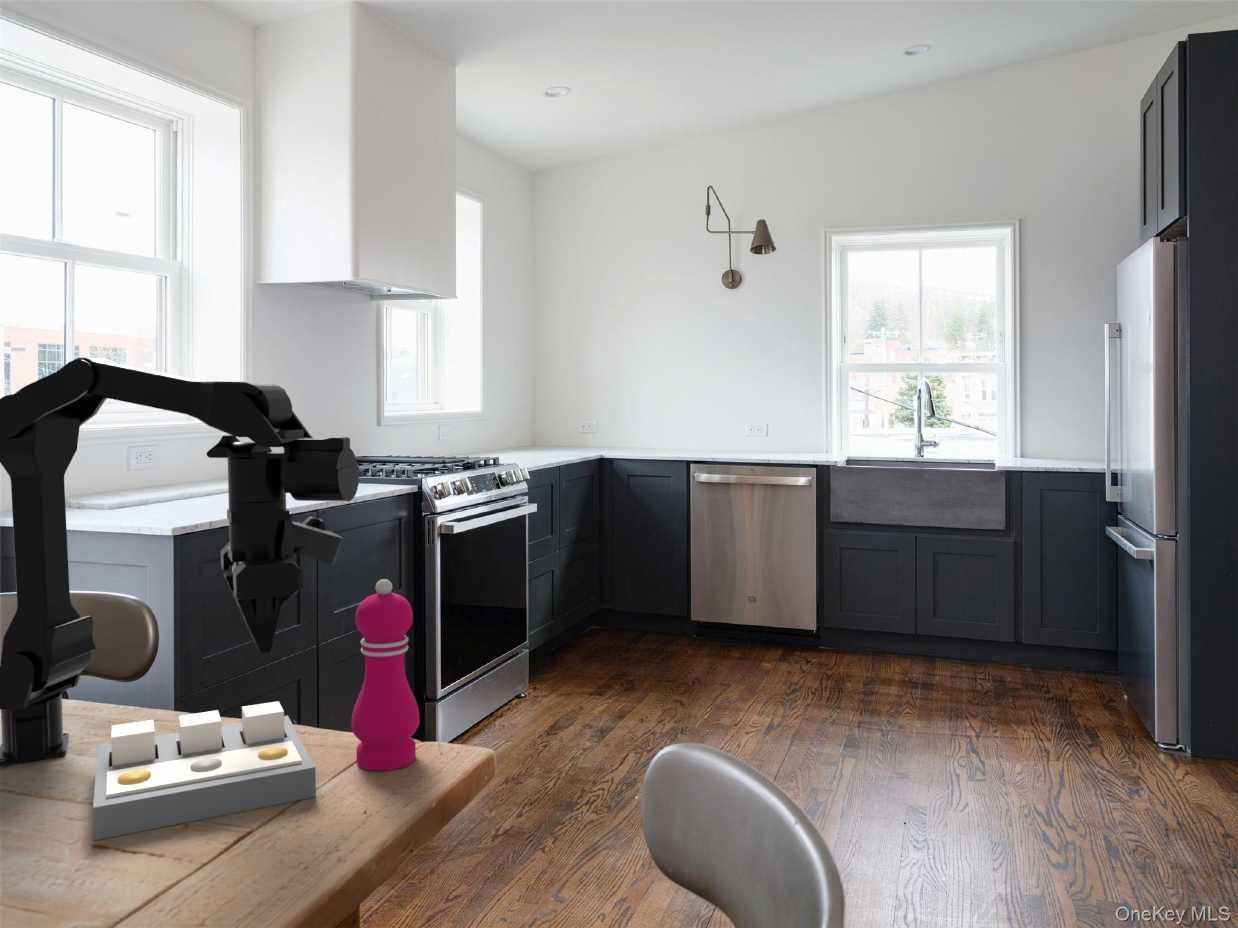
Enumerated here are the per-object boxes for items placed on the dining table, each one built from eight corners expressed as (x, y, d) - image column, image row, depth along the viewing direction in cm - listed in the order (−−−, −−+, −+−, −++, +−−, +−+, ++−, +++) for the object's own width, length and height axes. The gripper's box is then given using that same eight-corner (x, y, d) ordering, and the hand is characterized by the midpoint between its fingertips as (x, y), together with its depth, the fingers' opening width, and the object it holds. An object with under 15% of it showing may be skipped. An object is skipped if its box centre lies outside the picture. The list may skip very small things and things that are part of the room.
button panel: (98, 772, 95) (97, 739, 95) (288, 740, 104) (287, 711, 104) (94, 840, 80) (92, 802, 80) (315, 796, 89) (315, 762, 89)
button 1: (112, 755, 93) (111, 725, 93) (154, 749, 95) (153, 719, 94) (112, 768, 89) (111, 737, 89) (155, 761, 91) (154, 730, 91)
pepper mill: (402, 775, 94) (400, 587, 93) (339, 770, 96) (336, 584, 94) (430, 750, 101) (428, 574, 100) (371, 745, 103) (368, 571, 102)
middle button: (179, 745, 96) (178, 715, 96) (218, 738, 98) (217, 710, 97) (181, 757, 92) (180, 726, 92) (221, 750, 94) (221, 720, 94)
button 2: (242, 735, 99) (241, 706, 98) (279, 729, 101) (278, 701, 100) (246, 746, 95) (246, 717, 95) (284, 740, 97) (283, 711, 97)
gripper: (353, 505, 92) (355, 655, 93) (320, 490, 108) (322, 618, 109) (235, 510, 86) (238, 670, 87) (218, 494, 103) (222, 628, 104)
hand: (260, 644), depth 97 cm, fingers open, 7 cm apart
